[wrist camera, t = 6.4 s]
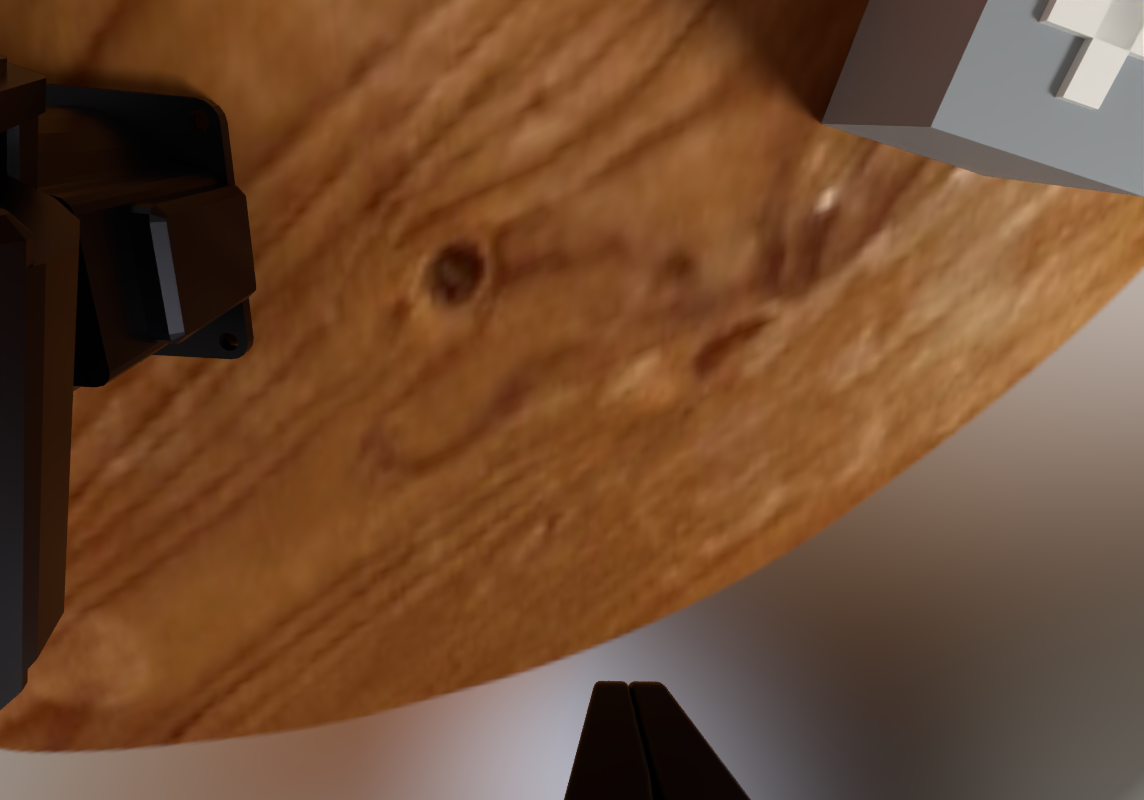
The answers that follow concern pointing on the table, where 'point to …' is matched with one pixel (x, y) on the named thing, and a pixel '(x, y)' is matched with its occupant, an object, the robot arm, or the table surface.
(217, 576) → the table surface
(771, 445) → the table surface
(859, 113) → the slate block
